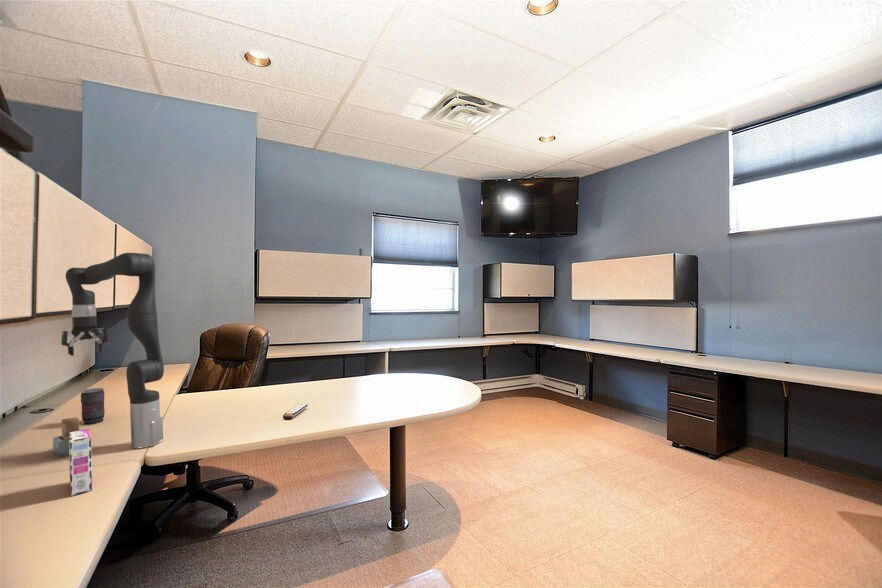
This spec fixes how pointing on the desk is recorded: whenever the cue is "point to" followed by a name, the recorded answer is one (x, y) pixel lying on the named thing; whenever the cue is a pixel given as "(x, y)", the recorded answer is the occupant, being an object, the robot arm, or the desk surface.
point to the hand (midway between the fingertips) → (85, 354)
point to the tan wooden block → (69, 427)
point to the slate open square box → (60, 446)
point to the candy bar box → (80, 462)
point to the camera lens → (92, 406)
